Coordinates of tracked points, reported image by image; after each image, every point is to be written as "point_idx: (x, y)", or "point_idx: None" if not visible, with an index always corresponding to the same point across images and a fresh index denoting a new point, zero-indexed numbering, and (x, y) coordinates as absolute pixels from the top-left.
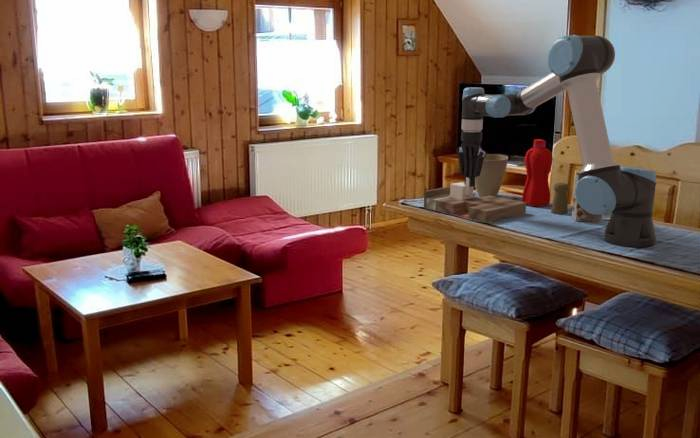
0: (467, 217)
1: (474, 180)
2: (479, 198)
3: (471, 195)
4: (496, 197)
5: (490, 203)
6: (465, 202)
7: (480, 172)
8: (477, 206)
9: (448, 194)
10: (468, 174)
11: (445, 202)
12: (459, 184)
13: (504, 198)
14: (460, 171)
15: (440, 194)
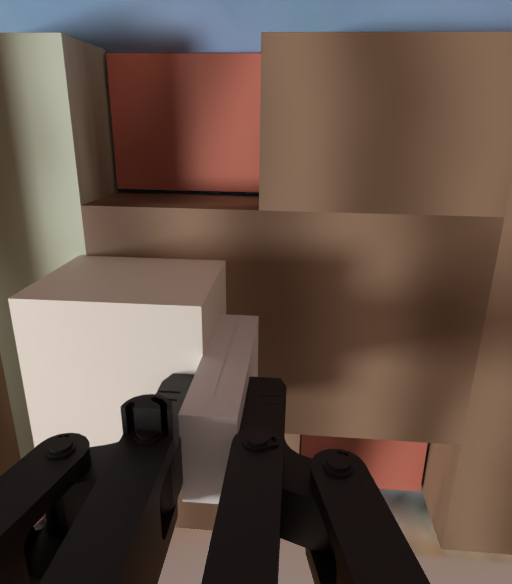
0: (412, 488)
1: (284, 430)
2: (292, 246)
3: (222, 288)
4: (383, 65)
5: (495, 340)
6: (303, 431)
7: (384, 503)
8: (473, 491)
9: (2, 313)
10: (169, 486)
11: (212, 528)
12: (109, 419)
13: (482, 37)
14: (41, 546)
15: (2, 397)
